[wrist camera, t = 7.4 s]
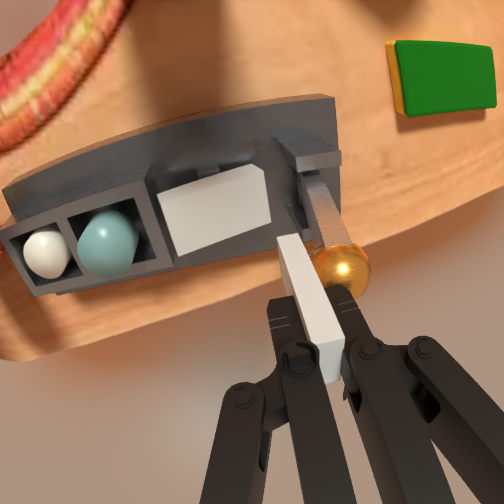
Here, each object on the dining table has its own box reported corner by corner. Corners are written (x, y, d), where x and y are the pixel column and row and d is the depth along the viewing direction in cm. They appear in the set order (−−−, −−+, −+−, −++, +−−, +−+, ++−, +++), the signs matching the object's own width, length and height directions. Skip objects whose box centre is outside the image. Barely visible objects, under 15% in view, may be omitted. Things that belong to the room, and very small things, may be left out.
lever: (289, 199, 24) (311, 325, 13) (284, 159, 22) (309, 268, 11) (326, 195, 23) (374, 316, 13) (324, 155, 21) (383, 258, 11)
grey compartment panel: (65, 277, 28) (44, 324, 22) (17, 177, 21) (-23, 211, 15) (328, 218, 29) (359, 260, 23) (320, 93, 22) (359, 104, 16)
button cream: (48, 264, 23) (38, 282, 21) (28, 227, 20) (15, 243, 18) (81, 255, 23) (73, 273, 21) (62, 215, 20) (50, 231, 18)
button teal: (100, 262, 21) (92, 282, 19) (79, 218, 19) (67, 236, 17) (146, 251, 22) (141, 271, 19) (127, 203, 19) (119, 220, 17)
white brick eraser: (173, 242, 22) (178, 256, 20) (156, 194, 19) (160, 204, 18) (259, 211, 23) (271, 222, 22) (251, 163, 21) (263, 170, 20)
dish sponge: (482, 103, 23) (497, 108, 21) (393, 113, 24) (408, 118, 22) (477, 45, 19) (492, 47, 17) (381, 40, 20) (396, 40, 18)
